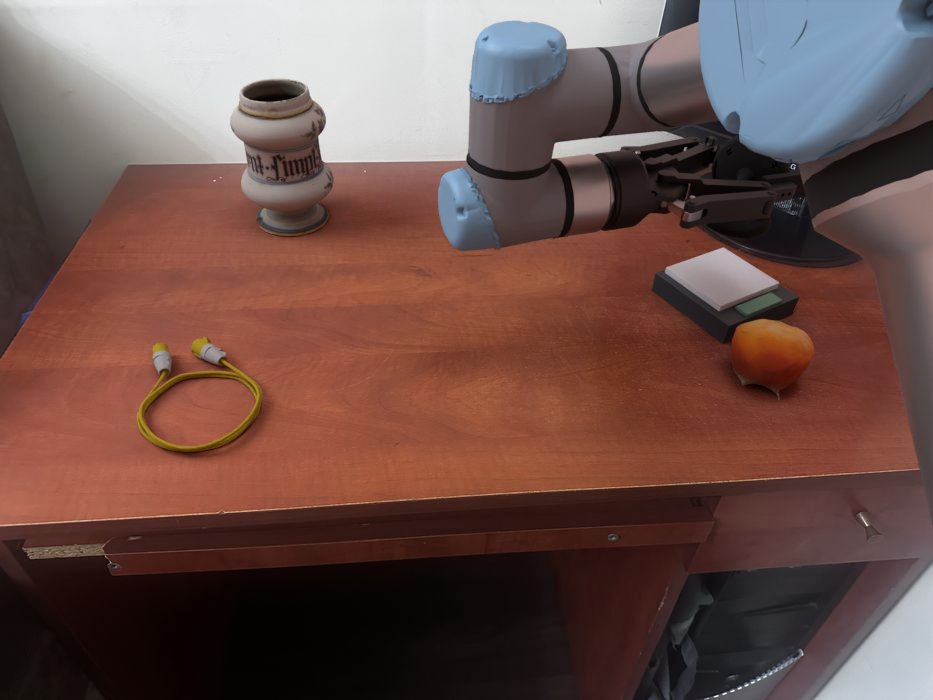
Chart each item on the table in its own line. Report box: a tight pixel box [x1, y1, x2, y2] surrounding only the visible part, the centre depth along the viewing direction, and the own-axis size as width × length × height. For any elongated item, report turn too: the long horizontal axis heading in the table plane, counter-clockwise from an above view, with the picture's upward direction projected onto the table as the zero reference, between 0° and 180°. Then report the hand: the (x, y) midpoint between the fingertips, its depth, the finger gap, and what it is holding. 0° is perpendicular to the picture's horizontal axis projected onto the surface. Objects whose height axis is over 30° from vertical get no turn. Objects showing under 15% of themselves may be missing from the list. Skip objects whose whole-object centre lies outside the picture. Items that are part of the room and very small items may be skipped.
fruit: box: [730, 319, 815, 401], centre depth 75 cm, size 8×8×8 cm
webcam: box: [704, 134, 791, 239], centre depth 75 cm, size 8×8×10 cm
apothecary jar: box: [229, 78, 335, 237], centre depth 93 cm, size 12×12×18 cm
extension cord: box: [136, 336, 264, 453], centre depth 70 cm, size 12×16×2 cm
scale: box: [651, 246, 801, 344], centre depth 86 cm, size 12×12×3 cm
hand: (788, 166), depth 75 cm, fingers closed on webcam, 7 cm apart
